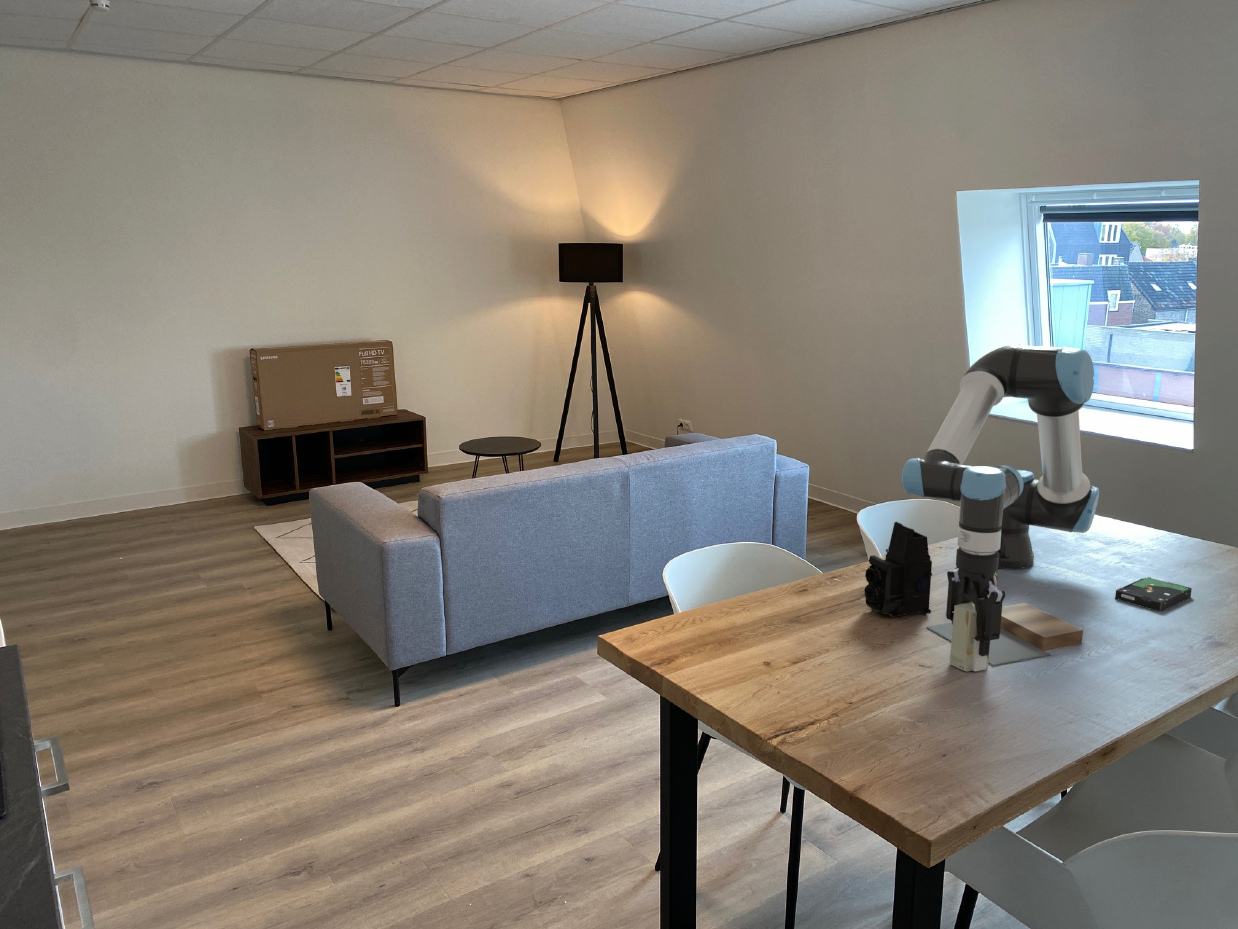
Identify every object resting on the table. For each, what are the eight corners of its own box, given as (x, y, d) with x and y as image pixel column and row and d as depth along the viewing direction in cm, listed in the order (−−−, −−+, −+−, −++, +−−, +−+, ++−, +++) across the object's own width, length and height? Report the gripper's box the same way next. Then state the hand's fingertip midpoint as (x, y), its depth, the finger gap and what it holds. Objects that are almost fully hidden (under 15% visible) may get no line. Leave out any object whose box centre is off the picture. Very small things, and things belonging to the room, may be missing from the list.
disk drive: (1161, 615, 206) (1191, 598, 214) (1162, 603, 205) (1192, 587, 213) (1113, 601, 214) (1144, 586, 222) (1115, 590, 213) (1145, 575, 222)
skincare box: (965, 673, 177) (970, 612, 174) (948, 664, 181) (952, 605, 178) (989, 665, 180) (994, 606, 177) (972, 657, 184) (976, 599, 181)
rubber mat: (926, 628, 198) (927, 626, 198) (980, 618, 203) (980, 617, 203) (992, 666, 180) (993, 664, 180) (1050, 655, 184) (1050, 653, 184)
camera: (855, 608, 210) (859, 522, 205) (907, 600, 214) (912, 516, 209) (881, 624, 200) (886, 535, 196) (934, 616, 205) (940, 528, 200)
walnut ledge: (987, 622, 201) (988, 609, 200) (1024, 615, 204) (1025, 602, 204) (1042, 651, 186) (1044, 637, 186) (1081, 643, 189) (1083, 630, 189)
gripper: (931, 538, 182) (923, 648, 187) (995, 566, 166) (985, 686, 171) (962, 533, 185) (954, 643, 190) (1029, 561, 168) (1018, 680, 173)
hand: (969, 663), depth 180 cm, fingers closed on skincare box, 5 cm apart
